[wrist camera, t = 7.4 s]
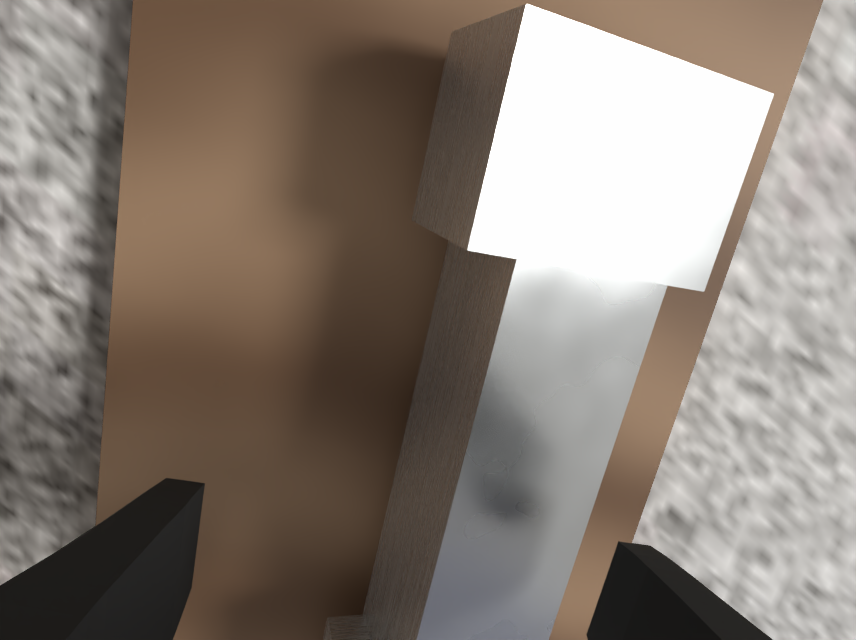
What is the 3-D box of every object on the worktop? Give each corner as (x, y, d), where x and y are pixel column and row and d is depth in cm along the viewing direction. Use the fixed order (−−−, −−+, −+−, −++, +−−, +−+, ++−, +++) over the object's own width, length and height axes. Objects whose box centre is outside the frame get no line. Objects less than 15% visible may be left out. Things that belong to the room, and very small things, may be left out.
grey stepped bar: (473, 703, 17) (520, 812, 14) (304, 728, 15) (321, 858, 13) (657, 98, 13) (774, 93, 10) (451, 32, 11) (526, 3, 8)
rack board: (523, 784, 20) (554, 916, 16) (95, 751, 18) (28, 893, 15) (809, -57, 13) (961, -131, 10) (176, -246, 11) (87, -421, 8)
